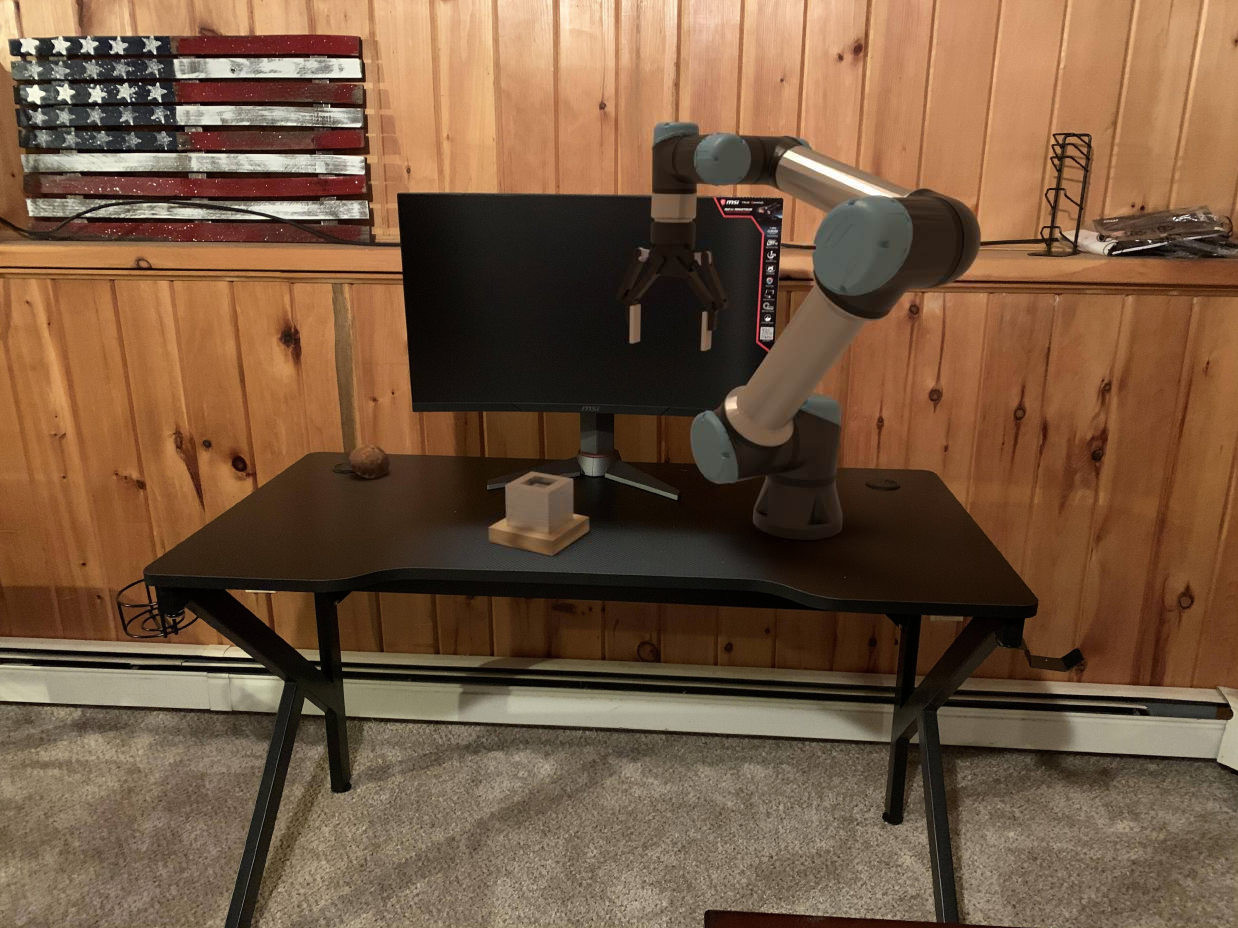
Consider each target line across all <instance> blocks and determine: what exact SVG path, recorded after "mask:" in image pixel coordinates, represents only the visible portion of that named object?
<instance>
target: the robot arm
mask: <svg viewBox="0 0 1238 928" xmlns="http://www.w3.org/2000/svg"><path fill="white" fill-rule="evenodd" d="M652 140H653V141H652V142H653V143H652V146H651V158H652V159H651V162H652V163H651V211H650V217H651V218H652V219H654V221H652V222H651V223H650V249H646V248H645V247H638V248H637V247H635V248H634V249H633V250H632V258H631V259H632V260H631V263H630V265H629V267H628V269H627V271H626V273H625V275H624V278H623V280H622V282H621V283H620V286H619V288H618V290H617V292H616V295H615V300H616V301H618V302H622V303H623V304H624V306H625V323H626V324H629V344H636V343H638V342H641V315H642V314H641V312H642V311H641V305H642V304H639V302H638V301H639V300H640V299H641V297H642V296H643V295H644V294H645V293H646V291H647V290H648V289H649V288H650V287H651V285H652V284H653V283H654V281H656V279H657V278H658V277H665V278H666V277H672V278H682V279H683V280H684V281H685V282H687V284H688V285H689V286H690V288H691V289H692V291H693V292H694V294H695V295H696V297H697V298H698V299H699V301H700V303H701V304H702V306H703V307H704V308H705V310H706V311H702V317H701V339H700V341H701V342H700V351H702V352H703V351H704V352H705V351H708V350H710V349H711V348H712V332H714V331H716V330H717V327H718V313H719V310H722V309H727V308H728V307H729V306H730V303H729V300H728V297H727V295H726V292H725V291H724V288H723V285H722V282H721V281H720V279H719V275H718V273H717V270H716V267H715V266H714V256H713V252H712V251H711V250H708V251H703V252H696V249H695V244H696V224H695V221H693V220H694V219H695V218H696V217H697V197H698V195H697V193H698V185H711V186H715V187H719V186H722V187H724V186H730V185H731V186H737V185H738V186H740V185H741V186H744V185H745V186H746V185H747V186H754V185H755V186H769V187H772V188H774V189H776V190H778V191H780V192H783V193H784V194H787V195H789V196H791V197H793V198H795V199H797V200H799V201H801V202H804V203H806V204H808V205H809V206H812V207H813V208H815V209H817V210H819V211H822V212H824V213H826V214H827V215H825V217H824V218H823V219H822V221H821V223H820V224H819V226H818V229H817V230H816V233H815V234H814V238H813V245H815V250H813V251H812V252H811V253H812V254H811V255H812V256H811V258H812V259H811V260H812V266H813V268H812V279H813V282H814V286H813V287H812V288H811V290H810V291H809V293H808V294H807V296H806V297H805V299H804V300H803V301H802V303H801V304H800V306H799V308H798V309H797V310H796V312H795V313H794V315H793V316H792V318H791V319H790V321H789V323H787V325H786V326H785V328H784V330H783V331H782V332H781V334H780V335H779V336H778V338H777V339H776V341H775V343H774V344H773V345H772V347H771V348H770V350H769V351H768V353H767V354H766V356H765V358H764V359H763V360H762V362H761V363H760V365H759V367H758V368H757V369H756V370H755V372H754V373H753V375H752V376H751V378H750V379H749V381H748V382H747V383H746V385H740V386H737V387H735V388H734V389H732V390H730V392H729V393H728V394H727V395H726V397H725V398H724V400H723V401H722V403H721V405H719V407H718V408H717V409H715V410H705V411H704V412H700V413H699V414H697V415H696V416H695V418H694V419H693V421H692V425H691V426H690V433H689V434H690V447H691V452H692V456H693V458H694V461H695V464H696V466H697V468H698V470H699V471H700V473H701V474H702V475H703V476H704V478H706V479H707V480H708V481H709V482H712V483H715V484H721V485H722V484H729V483H730V484H735V483H736V482H738V483H739V482H741V481H742V482H743V481H746V480H751V479H757V478H761V477H765V480H764V483H763V485H762V488H761V490H760V492H759V496H758V497H757V500H756V502H755V504H754V507H753V515H752V522H753V525H755V527H756V528H757V529H759V530H761V531H762V532H764V533H767V534H768V535H772V536H775V537H778V538H784V539H789V540H798V541H814V540H822V539H823V540H825V539H829V538H832V537H834V536H836V535H838V534H839V533H841V531H842V530H843V521H844V520H843V518H844V515H843V512H842V511H843V510H842V507H841V503H840V499H839V495H838V490H837V487H836V479H837V478H836V477H837V469H838V457H839V451H840V450H839V449H840V440H841V439H840V438H841V431H842V430H841V428H842V422H841V421H842V406H841V404H840V402H839V401H838V400H836V399H835V398H834V397H831V396H828V395H825V394H821V393H816V392H815V390H816V388H817V387H818V386H819V385H820V383H821V382H822V381H823V380H824V379H825V378H826V376H827V375H828V373H829V371H831V369H832V368H833V367H834V365H835V364H836V363H837V362H838V360H839V359H840V357H842V356H843V354H844V353H845V351H846V350H847V349H848V348H849V347H850V345H851V343H853V341H854V340H855V338H856V337H857V336H858V334H859V333H860V332H861V331H862V330H863V328H864V327H865V325H866V324H868V322H876V321H880V320H882V319H884V318H886V317H887V316H888V315H889V314H890V312H891V311H892V310H893V308H894V307H895V306H896V305H897V304H898V302H899V301H900V300H901V299H902V297H903V296H904V295H905V294H906V293H908V292H909V291H911V290H912V291H913V290H923V289H924V290H925V289H932V288H933V289H934V288H940V287H944V286H946V285H949V284H951V283H954V282H955V281H956V280H958V279H959V278H961V277H963V276H964V274H965V273H966V272H967V271H968V270H969V269H970V268H971V267H972V265H973V264H974V262H975V261H976V259H977V256H978V254H979V252H980V246H981V243H982V242H981V241H982V240H981V239H982V233H981V227H980V224H979V220H978V219H977V216H976V215H975V212H973V211H972V209H971V208H970V207H969V206H967V205H966V204H965V203H964V202H962V201H960V200H959V199H957V198H954V197H951V196H949V195H946V194H942V193H940V192H937V191H935V190H933V189H930V188H926V187H920V188H915V189H913V190H911V189H909V188H906V187H903V186H902V185H899V184H896V183H894V182H892V181H889V180H887V179H884V178H881V177H880V176H877V175H875V174H872V173H870V172H867V171H865V170H862V169H861V168H860V169H859V168H857V167H855V166H853V165H850V164H847V163H846V162H843V161H840V160H838V159H836V158H833V157H830V156H829V155H826V154H824V153H821V152H818V151H816V150H813V148H812V147H811V146H810V144H809V142H808V141H807V140H806V139H804V138H801V137H796V136H795V137H794V136H790V135H781V136H780V135H779V136H777V135H776V136H775V135H744V134H734V133H728V132H714V133H708V134H700V127H699V125H698V124H697V123H695V122H689V121H688V122H687V121H685V122H683V121H669V122H668V121H667V122H665V121H664V122H663V121H662V122H658V123H657V124H656V125H655V126H654V128H653V139H652ZM648 259H649V261H650V262H651V264H652V265H651V266H650V268H648V270H646V273H645V275H644V276H643V277H642V279H640V281H639V282H638V283H637V284H636V286H635V287H633V286H634V284H635V283H636V281H637V278H638V276H639V275H640V273H641V270H642V269H643V266H644V264H645V262H646V261H647V260H648ZM696 261H697V263H698V264H699V266H701V269H702V273H703V275H704V278H705V280H706V283H707V285H708V287H709V289H710V291H709V290H708V288H707V287H706V286H705V284H704V283H703V281H702V280H701V278H700V277H699V275H698V273H697V271H696V269H695V268H694V266H693V265H694V264H695V262H696ZM632 289H633V290H632Z"/></svg>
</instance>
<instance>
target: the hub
mask: <svg viewBox="0 0 1238 928" xmlns="http://www.w3.org/2000/svg"><path fill="white" fill-rule="evenodd" d="M536 483H537V484H542V485H547V486H548V487H546V488H540V487H535V486H532V485H534V484H536ZM504 488H505V490H504V491H505V518H506V526H510V527H515V528H520V529H524V530H529V531H534V532H539V533H543V534H548V535H549V534H550V533H552V532H553V531H555V530H557V529H558V528H560V527H561V526H563V525H564V524H566V523H567V522H569V521H570V520H572V519H573V514H574V478H570V477H566V476H565V477H564V476H559V475H553V474H548V473H543V472H542V473H541V472H537V471H530V472H528V473H526V474H524V475H523V476H520V477H518V478H516V479H514V480H512V481H510V482H509V483H507V484H505V485H504Z"/></svg>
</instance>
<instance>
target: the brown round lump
mask: <svg viewBox="0 0 1238 928" xmlns="http://www.w3.org/2000/svg"><path fill="white" fill-rule="evenodd" d="M348 463H349V467H350V468H351V469H352V470H353V472H354V473H355V474H357V475H358V476H359V477H363V478H366V479H376V478H380V477H382V476H383V475H384V474H385V475H386V473H387V472H388V470H389V467H390V459H389V456H388V454H387V452H385V451H384V449H382V448H381V447H379V446H377V445H375V444H370V443H368V444H367V443H365V444H362V445H359V446H356V447H355V448H354V449H353V450H352V451H351V452H350V454H349V457H348Z"/></svg>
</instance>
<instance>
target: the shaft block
mask: <svg viewBox="0 0 1238 928" xmlns="http://www.w3.org/2000/svg"><path fill="white" fill-rule="evenodd" d="M532 486H535V487H540V488H546V487H548V486H547V485H542V484H537V483H536V484H534V485H532ZM589 531H590V516H587V515H586V516H585V515H582V514H577V513H573V519H572V520H570V521H569V522H567V523H566V524H564V525H563V526H561V527H560V528H558V529H557V530H555V531H553V532H552V533H550V534H549V535H548V534H543V533H539V532H534V531H529V530H524V529H520V528H515V527H510V526H506V517H505V518H503V519H500V520H499V521H496V522H495V523H493V524H492V525H491V526H488V542H489V543H493V544H498V545H502V546H506V547H511V548H516V549H521V550H523V551H529V552H534V553H537V554H543V555H546V556H550V557H551V556H552V557H553V556H555V555H556V554H557V553H559V552H561V551H562V550H563V549H565V548H566V547H568V546H569V545H570V544H572V543H573V542H575V541H576V540H578V539H579V538H581V537H582V536H583V535H585V534H586V533H588V532H589Z"/></svg>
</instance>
